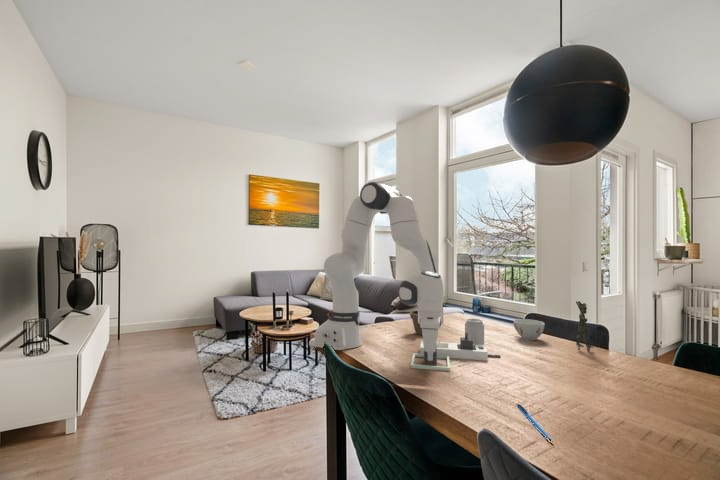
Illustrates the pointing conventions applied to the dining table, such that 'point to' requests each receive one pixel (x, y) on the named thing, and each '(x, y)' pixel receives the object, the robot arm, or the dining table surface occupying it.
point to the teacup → (529, 328)
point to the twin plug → (466, 342)
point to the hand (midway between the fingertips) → (430, 357)
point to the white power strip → (461, 351)
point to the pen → (532, 420)
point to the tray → (429, 365)
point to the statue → (582, 326)
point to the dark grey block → (434, 361)
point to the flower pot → (416, 322)
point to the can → (475, 330)
